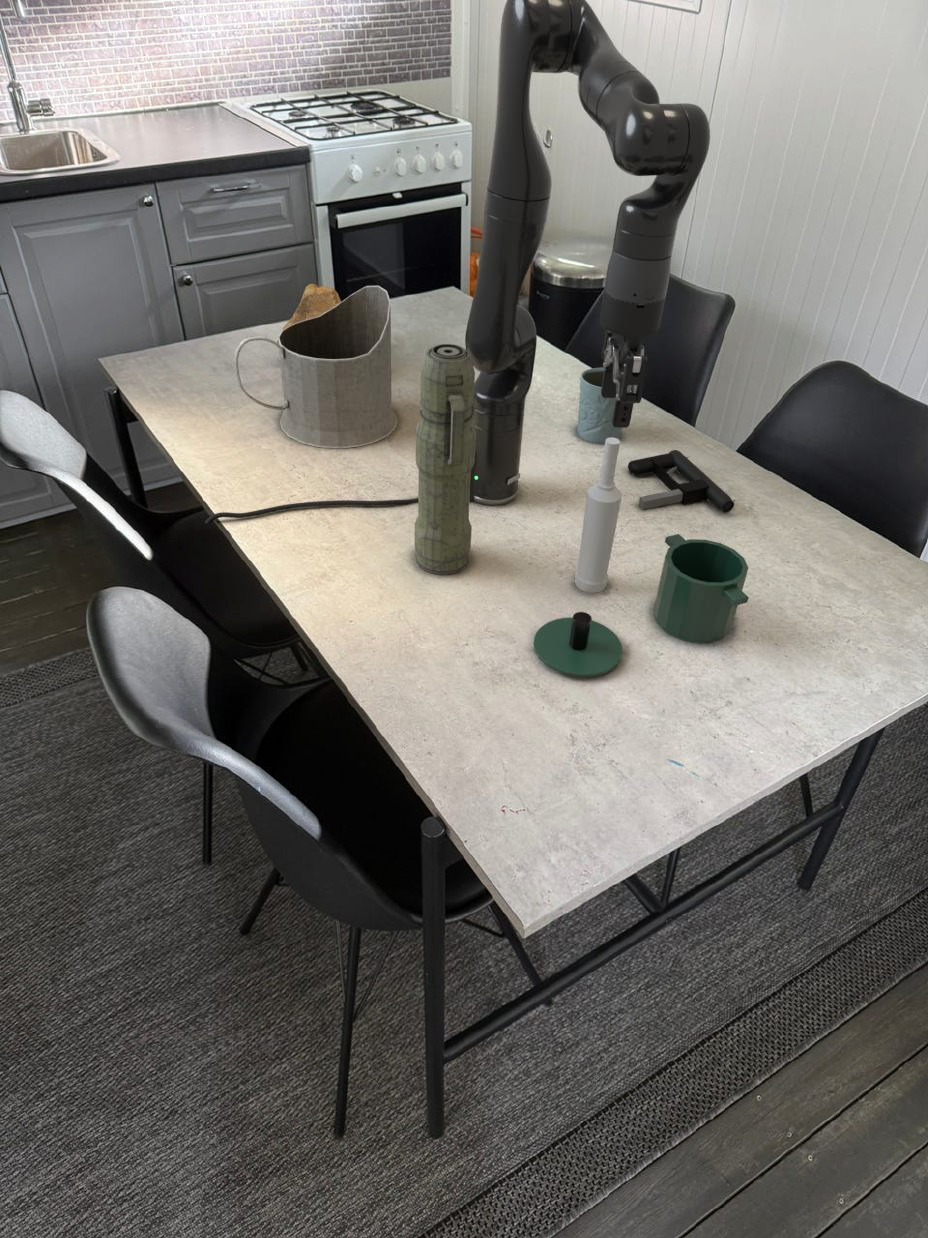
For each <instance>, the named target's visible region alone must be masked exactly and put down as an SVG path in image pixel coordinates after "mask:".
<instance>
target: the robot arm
mask: <svg viewBox="0 0 928 1238" xmlns="http://www.w3.org/2000/svg"><path fill="white" fill-rule="evenodd" d="M502 11H503V12H502V17H501V23H500V31H499V43H498V61H497V62H498V64H497V86H496V105H495V106H496V108H495V121H494V132H493V141H492V149H491V156H490V157H491V158H490V165H489V171H488V177H487V185H486V192H485V200H484V201H485V202H484V210H483V213H484V214H483V223H482V224H483V226H482V235H481V241H480V250H479V258H478V268H477V274H476V275H477V276H476V282H475V286H474V287H475V288H474V293H473V298H472V300H471V301H472V302H471V305H470V311H469V315H468V319H467V325H466V329H465V334H464V335H465V336H464V340H465V341H464V343H465V344H464V345H465V349H466V350H468V351H469V353H470V356H471V360H472V363H473V367H474V369H475V370H477V371H478V372H479V373H478V374H479V375H478V376H477V377H476V379H475V381H474V401H473V406H472V413H473V423H474V427H475V430H476V445H475V463H474V466H473V468H472V470H471V480H470V500H469V502H470V501H473V502H476V503H479V504H481V505H488V506H501V505H505V504H508V503H511V502H512V501H514V500H515V499H516V498H517V497H518V495H519V494H518V493H519V479H521V472H520V466H521V464H520V463H521V453H522V443H523V442H522V441H523V432H524V421H525V420H524V419H525V408H526V399H527V396H528V393H529V391H530V389H531V385H532V381H533V377H534V376H533V374H534V367H535V361H536V360H535V359H536V352H537V343H538V342H537V340H538V339H537V337H538V336H537V327H536V323H535V321H534V319H533V317H532V315H531V313H530V312H529V310H527V309H526V308H525V307H524V306H522V305H520V304H518V303H519V297H520V292H521V290H522V286H523V283H524V280H525V278H526V276H527V274H528V271H529V269H530V267H531V265H532V262H533V260H534V258H535V256H536V253H537V252H538V249H539V248H540V247H539V246H540V244H541V241H542V238H543V236H544V233H545V229H546V225H547V220H548V213H549V206H550V202H551V195H552V187H553V180H552V174H551V170H550V166H549V163H548V160H547V157H546V154H545V151H544V149H543V147H542V144H541V142H540V140H539V138H538V135H537V132H536V129H535V126H534V123H533V118H532V115H531V103H530V101H531V100H530V98H531V97H530V96H531V95H530V93H531V79H532V75H533V74H532V73H537V74H563V73H571V74H573V75H575V76H577V94H578V99H579V102H580V104H581V106H582V108H583V110H584V111H585V112H586V114H587V115H588V116H589V118H590V119H591V120H592V121H593V122H594V123H595V124H596V125H597V127H599V128H600V129H601V130H602V131H603V132H604V134H605V137H606V140H607V143H608V146H609V148H610V151H611V155H612V158H613V160H614V163H615V165H616V166H617V167H618V168H619V169H620V170H621V171H623V172H624V173H627V174H628V175H631V176H635V177H649V176H652V177H653V176H655V178H654V179H653V181H652V183H651V185H649V186H648V188H646V189H644V190H642V191H640V192H637V193H634V194H632V195H629V196H627V197H625V198H624V199H623V200H622V201H621V203H620V205H619V208H618V213H617V217H616V225H615V229H614V230H615V231H614V238H613V245H612V249H611V254H610V258H609V261H608V264H607V269H606V275H605V282H604V289H603V295H602V302H601V308H600V316H599V323H600V326H601V327H602V328H603V329H604V330H605V333H604V339H603V344H602V351H601V354H600V356H601V360H603V363H602V368H604V369H606V370H604V376H603V382H602V388H601V395H602V397H604V398H615V397H616V401H615V407H614V413H613V419H612V424H613V426H614V427H619V428H621V429H623V428H625V429H626V428H628V427H630V424H631V419H632V415H633V409H634V405H635V404H641V402H642V395H643V390H644V384H645V379H646V373H647V367H648V363H649V357H648V355H645V347H644V345H643V343H642V341H643V339H645V338H647V337H649V336H653V335H654V334H656V333H657V332H658V331H659V330H660V328H661V323H662V319H663V313H664V307H665V303H666V298H667V293H668V288H669V282H670V278H671V277H670V276H671V266H672V265H671V263H672V255H673V252H674V251H673V250H674V245H675V239H676V234H677V230H678V229H677V228H678V224H679V221H680V217H681V215H682V212H683V211H684V209H685V206H686V205H687V203H688V200H689V198H690V196H691V193H692V192H693V188H694V187H695V184H696V183H697V180H698V177H699V176H700V173H701V172H702V169H703V167H704V164H705V162H706V160H707V156H708V152H709V150H710V149H709V148H710V144H711V126H710V121H709V118H708V116H707V113H706V112H705V111H704V110H703V108H702V107H700V106H699V105H697V104H694V103H689V102H688V103H687V102H686V103H685V102H683V103H682V102H681V103H679V102H678V103H677V102H676V103H661V101H660V96H659V93H658V90H657V88H656V87H655V86H654V84H653V83H652V81H651V80H650V79H648V78H647V76H645V74H644V73H642V72H641V71H640V70H639V69H638V68H637V67H635V65H633V64H632V63H631V62H630V61H629V60H628V59H626V57H624V55H622V54H621V52H620V51H619V50H618V49H617V47H616V46H615V44H614V42H613V41H612V39H611V38H610V36H609V34H608V32H607V31H606V29H605V27H604V26H603V24H602V23H601V22H600V20H599V17H598V16H597V14H596V13H595V12H594V10H593V8H592V6H590V3H588V1H587V0H506V1H505V4H504V7H503V10H502ZM621 373H623V375H621ZM629 385H632V387H631V391H627V387H628V386H629ZM416 503H417V504H418V497H416V498H410V499H409V498H408V499H386V500H385V499H384V500H355V499H354V500H351V499H350V500H348V499H346V500H345V499H344V500H343V499H341V500H320V501H319V500H317V501H305V502H295V503H288V504H282V505H277V506H271V507H267V508H262V509H258V510H257V509H256V510H253V511H247V512H227V511H226V512H225V511H221V512H217V513H214V514H212V515H211V516H209V517H207V519H206V520H205V521H204V524H206V525H208V524H212V523H213V522H214V521H215V520H217V519H220V518H232V519H244V518H251V517H256V516H262V515H266V514H271V513H276V512H281V511H285V510H292V509H293V510H294V509H301V508H311V507H328V506H329V507H331V506H368V507H370V506H371V507H373V506H374V507H377V506H378V507H379V506H396V505H397V506H400V505H401V506H402V505H412V504H416Z"/></svg>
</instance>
